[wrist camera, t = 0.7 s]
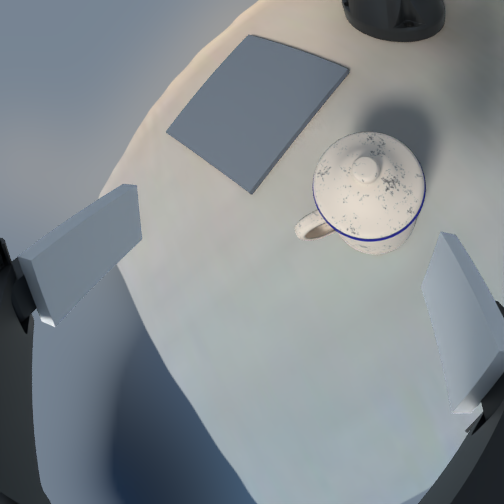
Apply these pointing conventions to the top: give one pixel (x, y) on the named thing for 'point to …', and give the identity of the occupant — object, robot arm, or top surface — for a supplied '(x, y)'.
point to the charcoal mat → (255, 108)
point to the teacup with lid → (366, 193)
